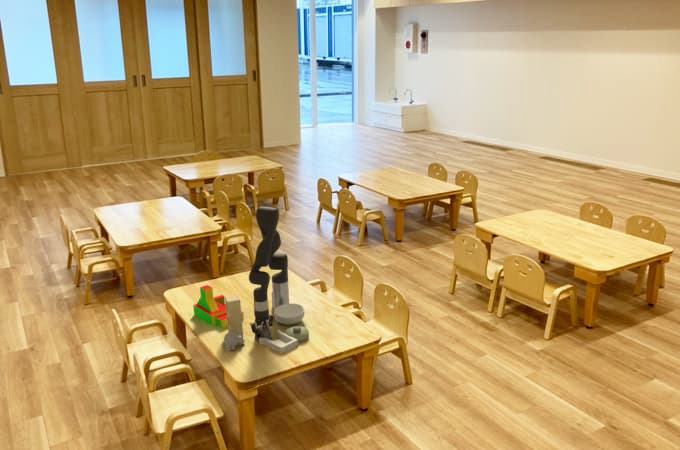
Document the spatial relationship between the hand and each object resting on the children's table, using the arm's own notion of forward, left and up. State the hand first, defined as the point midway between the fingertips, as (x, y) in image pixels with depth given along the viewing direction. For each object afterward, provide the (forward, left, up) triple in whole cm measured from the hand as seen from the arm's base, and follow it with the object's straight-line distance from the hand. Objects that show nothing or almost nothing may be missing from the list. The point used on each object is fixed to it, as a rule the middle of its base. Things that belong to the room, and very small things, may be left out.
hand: (263, 336), depth 315 cm
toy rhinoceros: (-4, -15, -1) cm, 16 cm away
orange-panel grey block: (0, 0, -1) cm, 1 cm away
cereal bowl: (-4, +22, -1) cm, 22 cm away
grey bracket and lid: (+10, +7, -1) cm, 13 cm away
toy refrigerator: (-15, -7, -1) cm, 17 cm away
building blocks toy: (-37, 0, -2) cm, 37 cm away
